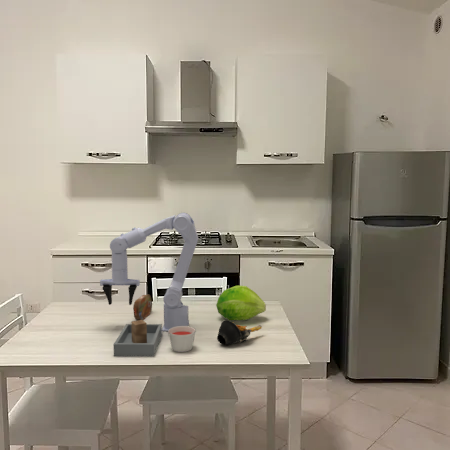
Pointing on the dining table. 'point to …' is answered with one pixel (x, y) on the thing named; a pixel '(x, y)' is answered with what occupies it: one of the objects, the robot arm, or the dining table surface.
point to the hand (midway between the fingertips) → (120, 304)
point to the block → (139, 331)
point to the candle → (181, 338)
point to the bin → (128, 348)
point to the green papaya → (240, 303)
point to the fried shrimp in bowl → (234, 332)
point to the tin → (142, 307)
